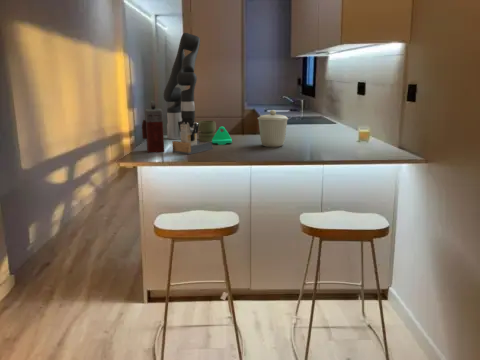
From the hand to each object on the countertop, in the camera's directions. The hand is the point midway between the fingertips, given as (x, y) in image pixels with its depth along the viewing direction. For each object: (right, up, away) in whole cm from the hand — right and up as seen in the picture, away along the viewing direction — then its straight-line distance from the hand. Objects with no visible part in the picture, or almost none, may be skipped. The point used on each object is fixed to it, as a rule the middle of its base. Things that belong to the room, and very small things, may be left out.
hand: (189, 140), depth 255 cm
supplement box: (0, -4, +1) cm, 4 cm away
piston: (+7, +4, +41) cm, 42 cm away
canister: (+48, -2, +17) cm, 51 cm away
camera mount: (+17, 0, +27) cm, 32 cm away
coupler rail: (+2, -5, +4) cm, 7 cm away
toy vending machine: (-20, -6, +3) cm, 21 cm away
